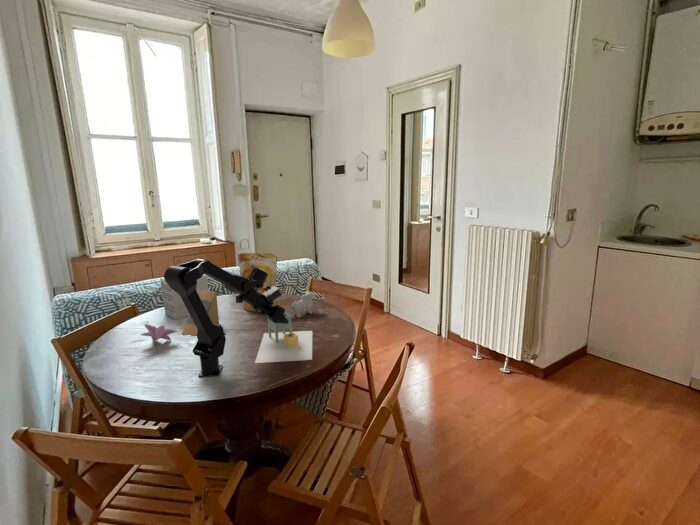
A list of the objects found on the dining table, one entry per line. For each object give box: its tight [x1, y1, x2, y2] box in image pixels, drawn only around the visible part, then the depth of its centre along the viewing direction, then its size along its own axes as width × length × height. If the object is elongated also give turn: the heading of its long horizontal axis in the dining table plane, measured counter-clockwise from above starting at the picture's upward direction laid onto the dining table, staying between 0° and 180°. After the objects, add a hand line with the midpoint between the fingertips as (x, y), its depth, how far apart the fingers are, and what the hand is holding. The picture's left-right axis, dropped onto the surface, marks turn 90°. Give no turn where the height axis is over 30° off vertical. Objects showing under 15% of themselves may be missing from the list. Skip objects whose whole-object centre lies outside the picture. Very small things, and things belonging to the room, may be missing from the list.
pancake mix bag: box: [237, 252, 278, 312], centre depth 178 cm, size 7×19×28 cm, turn 79°
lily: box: [141, 324, 178, 349], centre depth 143 cm, size 12×12×10 cm
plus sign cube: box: [284, 333, 299, 348], centre depth 140 cm, size 4×4×4 cm
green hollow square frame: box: [266, 311, 293, 343], centre depth 147 cm, size 7×7×10 cm
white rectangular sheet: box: [254, 330, 313, 364], centre depth 141 cm, size 25×20×1 cm
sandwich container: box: [180, 290, 220, 337], centre depth 157 cm, size 9×15×15 cm, turn 164°
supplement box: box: [159, 274, 209, 320], centre depth 177 cm, size 17×13×18 cm
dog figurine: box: [291, 290, 317, 318], centre depth 173 cm, size 5×13×11 cm, turn 133°
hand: (282, 319), depth 147 cm, fingers open, 9 cm apart
